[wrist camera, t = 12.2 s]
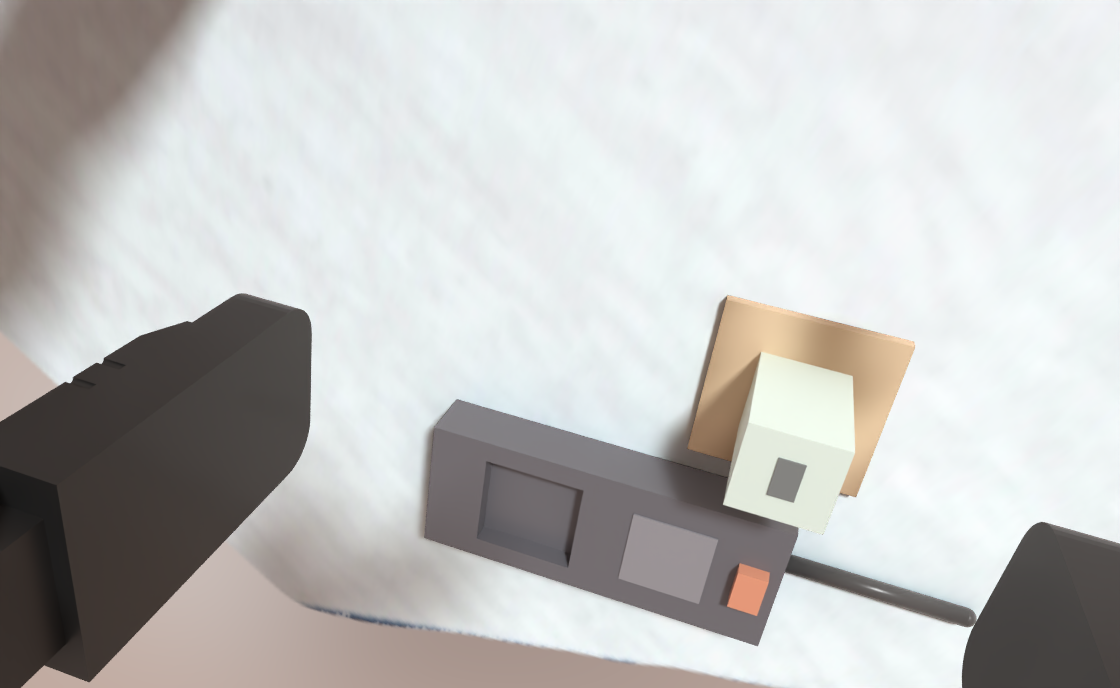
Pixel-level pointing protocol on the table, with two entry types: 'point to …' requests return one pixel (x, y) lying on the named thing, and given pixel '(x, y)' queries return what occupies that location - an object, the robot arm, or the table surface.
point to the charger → (793, 443)
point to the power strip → (622, 525)
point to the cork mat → (806, 341)
